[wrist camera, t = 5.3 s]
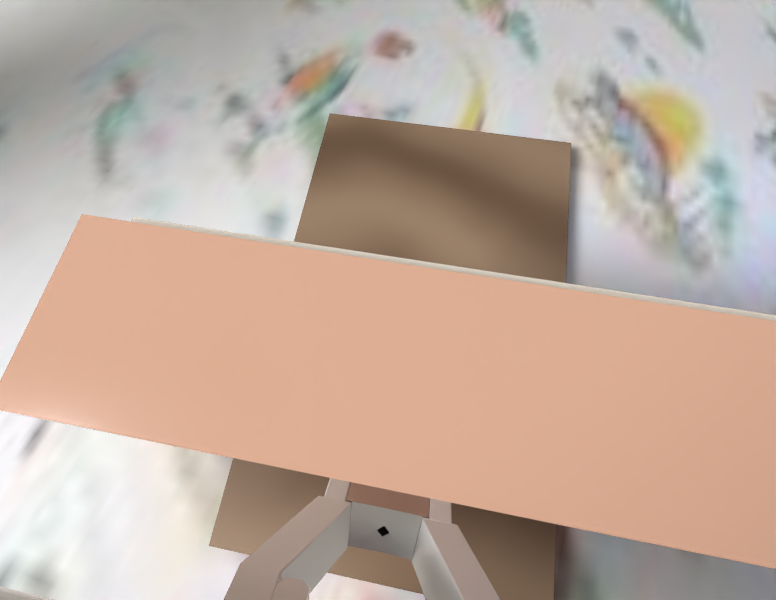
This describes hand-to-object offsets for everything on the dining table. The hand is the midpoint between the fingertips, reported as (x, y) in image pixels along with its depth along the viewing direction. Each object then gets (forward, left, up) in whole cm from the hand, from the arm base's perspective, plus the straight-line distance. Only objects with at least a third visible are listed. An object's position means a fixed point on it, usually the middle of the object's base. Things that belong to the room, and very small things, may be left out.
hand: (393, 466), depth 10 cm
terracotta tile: (-1, +1, -5) cm, 5 cm away
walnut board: (-5, +3, -6) cm, 8 cm away
